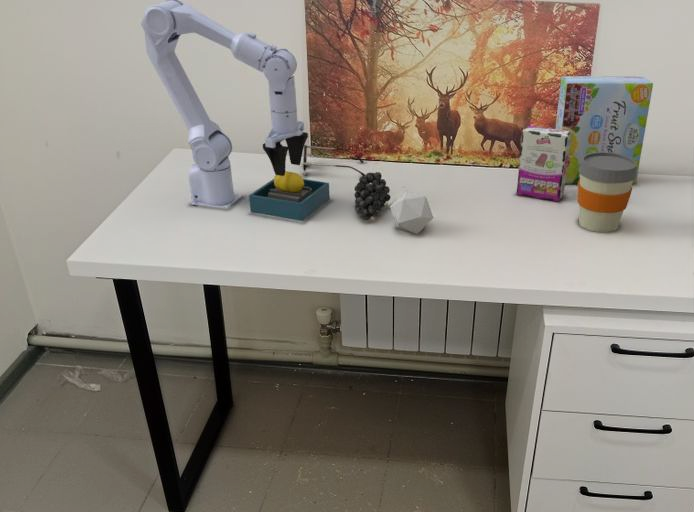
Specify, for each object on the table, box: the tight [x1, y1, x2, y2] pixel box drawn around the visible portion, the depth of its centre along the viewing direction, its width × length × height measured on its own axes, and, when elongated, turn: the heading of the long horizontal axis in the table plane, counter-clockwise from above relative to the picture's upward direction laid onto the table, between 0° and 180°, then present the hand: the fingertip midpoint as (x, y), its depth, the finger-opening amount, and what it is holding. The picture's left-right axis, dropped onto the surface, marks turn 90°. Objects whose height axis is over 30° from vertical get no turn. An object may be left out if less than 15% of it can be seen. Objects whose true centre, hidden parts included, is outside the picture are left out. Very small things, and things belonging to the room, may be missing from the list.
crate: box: [248, 178, 331, 222], centre depth 172 cm, size 13×14×5 cm
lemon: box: [273, 170, 304, 193], centre depth 169 cm, size 8×5×5 cm, turn 70°
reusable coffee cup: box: [577, 152, 637, 233], centre depth 165 cm, size 13×13×15 cm
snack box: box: [554, 75, 654, 185], centre depth 187 cm, size 22×9×26 cm, turn 92°
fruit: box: [354, 171, 391, 221], centre depth 169 cm, size 9×8×15 cm
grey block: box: [268, 186, 312, 203], centre depth 172 cm, size 8×7×4 cm
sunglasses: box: [302, 144, 366, 177], centre depth 194 cm, size 14×16×5 cm
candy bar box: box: [516, 125, 572, 202], centre depth 179 cm, size 11×5×16 cm, turn 68°
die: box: [389, 190, 434, 235], centre depth 162 cm, size 8×9×10 cm
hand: (288, 169), depth 168 cm, fingers open, 7 cm apart
